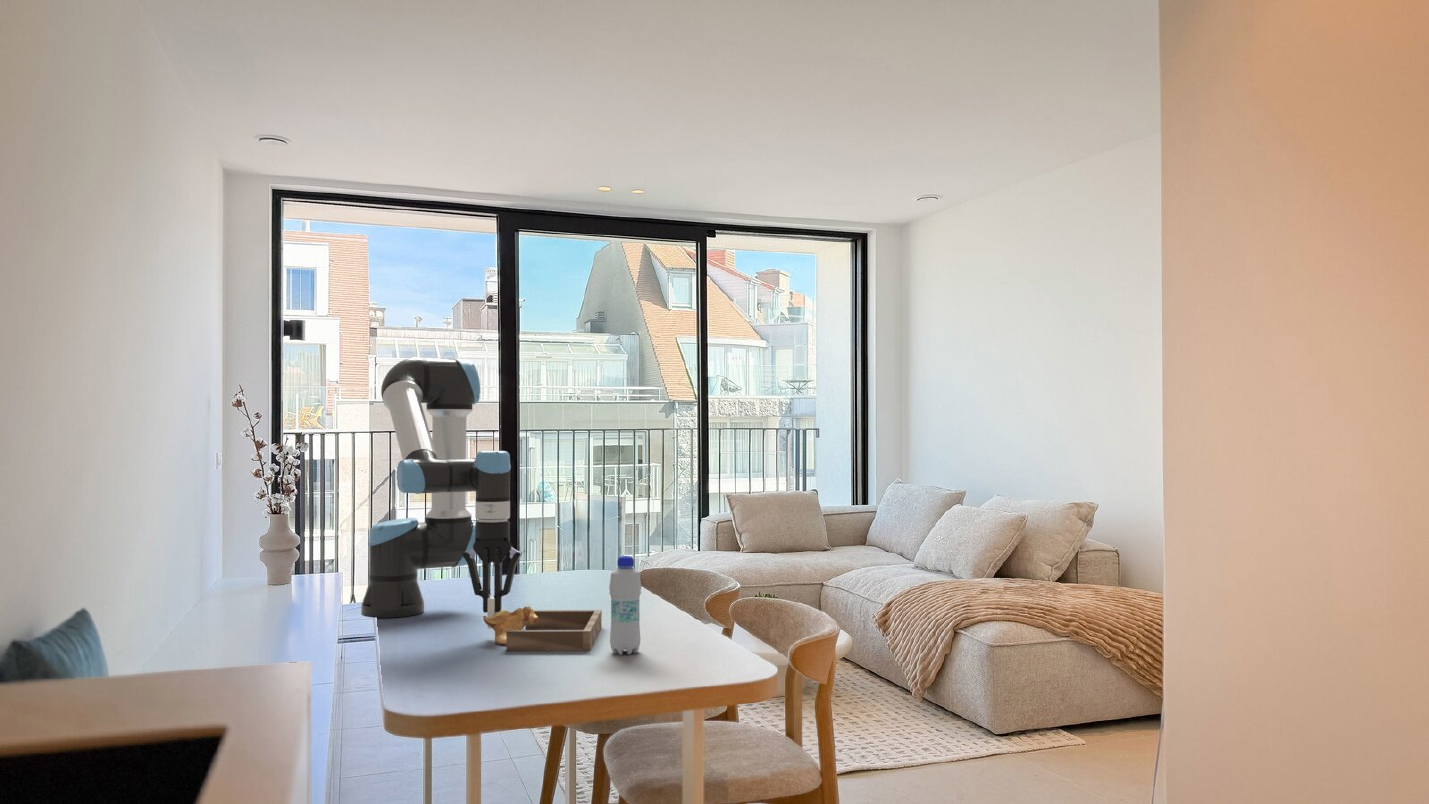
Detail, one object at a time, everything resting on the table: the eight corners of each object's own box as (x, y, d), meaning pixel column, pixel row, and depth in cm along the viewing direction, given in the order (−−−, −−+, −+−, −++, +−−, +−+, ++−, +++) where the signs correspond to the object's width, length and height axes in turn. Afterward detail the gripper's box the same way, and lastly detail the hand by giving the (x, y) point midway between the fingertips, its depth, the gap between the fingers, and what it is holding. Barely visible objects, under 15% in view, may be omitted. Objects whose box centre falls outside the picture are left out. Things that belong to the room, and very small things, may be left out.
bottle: (646, 650, 205) (646, 554, 206) (633, 657, 199) (633, 558, 200) (617, 647, 208) (617, 553, 208) (603, 654, 201) (603, 557, 202)
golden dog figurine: (533, 635, 220) (533, 598, 221) (546, 644, 212) (546, 605, 212) (479, 641, 215) (480, 602, 215) (491, 650, 206) (491, 610, 206)
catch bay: (526, 627, 229) (526, 610, 229) (601, 627, 229) (601, 610, 229) (506, 650, 205) (506, 631, 205) (590, 650, 205) (590, 631, 205)
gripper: (459, 521, 214) (458, 630, 213) (518, 521, 214) (518, 630, 213) (467, 518, 221) (466, 624, 220) (525, 518, 221) (524, 623, 220)
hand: (492, 627), depth 217 cm, fingers closed
